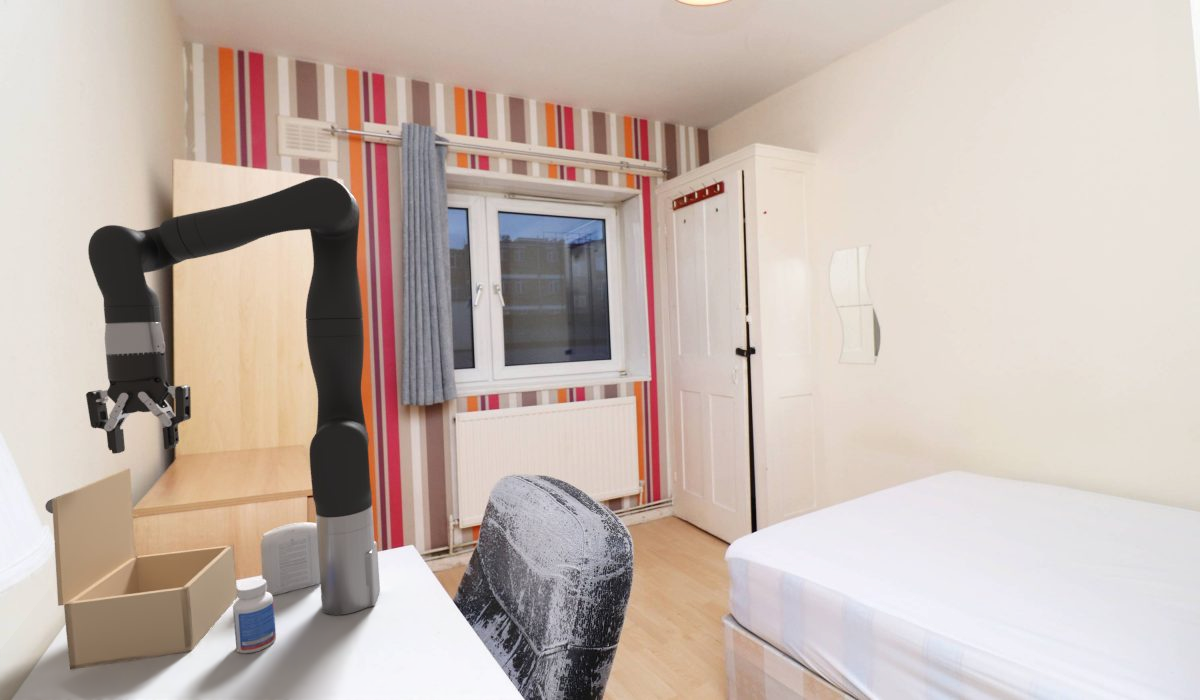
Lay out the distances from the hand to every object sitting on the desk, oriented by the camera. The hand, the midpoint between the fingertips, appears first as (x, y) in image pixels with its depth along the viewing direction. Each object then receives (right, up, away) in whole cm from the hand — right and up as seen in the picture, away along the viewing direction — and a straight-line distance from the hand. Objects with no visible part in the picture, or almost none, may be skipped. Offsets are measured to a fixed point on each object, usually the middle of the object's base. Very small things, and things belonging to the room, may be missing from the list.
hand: (144, 450), depth 93 cm
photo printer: (+16, -29, +15) cm, 37 cm away
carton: (+2, -31, +2) cm, 31 cm away
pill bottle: (+21, -30, -4) cm, 37 cm away
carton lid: (-7, -13, -1) cm, 15 cm away
